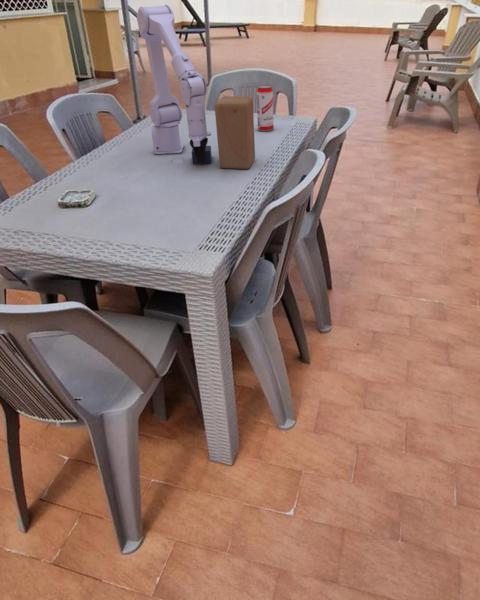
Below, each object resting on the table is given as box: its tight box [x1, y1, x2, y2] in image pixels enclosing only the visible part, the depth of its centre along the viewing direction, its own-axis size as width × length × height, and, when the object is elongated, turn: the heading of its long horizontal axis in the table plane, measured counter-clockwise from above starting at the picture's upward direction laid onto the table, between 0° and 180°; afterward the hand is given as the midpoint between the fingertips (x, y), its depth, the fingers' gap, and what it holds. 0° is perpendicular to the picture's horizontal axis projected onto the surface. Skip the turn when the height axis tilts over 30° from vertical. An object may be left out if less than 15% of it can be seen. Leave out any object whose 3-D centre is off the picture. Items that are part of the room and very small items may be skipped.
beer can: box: [256, 84, 275, 133], centre depth 179 cm, size 6×6×16 cm
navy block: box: [191, 145, 213, 165], centre depth 154 cm, size 6×6×4 cm
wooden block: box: [214, 95, 256, 170], centre depth 146 cm, size 10×10×20 cm
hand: (201, 162), depth 151 cm, fingers closed
